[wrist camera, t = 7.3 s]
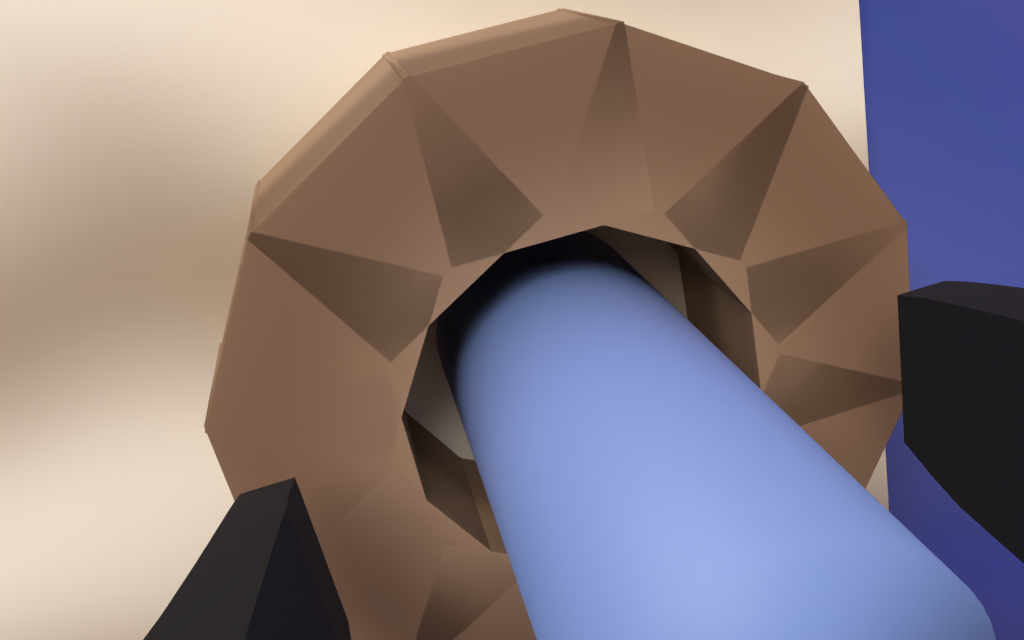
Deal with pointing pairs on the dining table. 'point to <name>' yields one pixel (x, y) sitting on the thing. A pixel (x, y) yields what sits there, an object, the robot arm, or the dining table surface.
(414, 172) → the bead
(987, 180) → the dining table surface
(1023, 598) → the dining table surface
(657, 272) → the board
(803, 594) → the peg
